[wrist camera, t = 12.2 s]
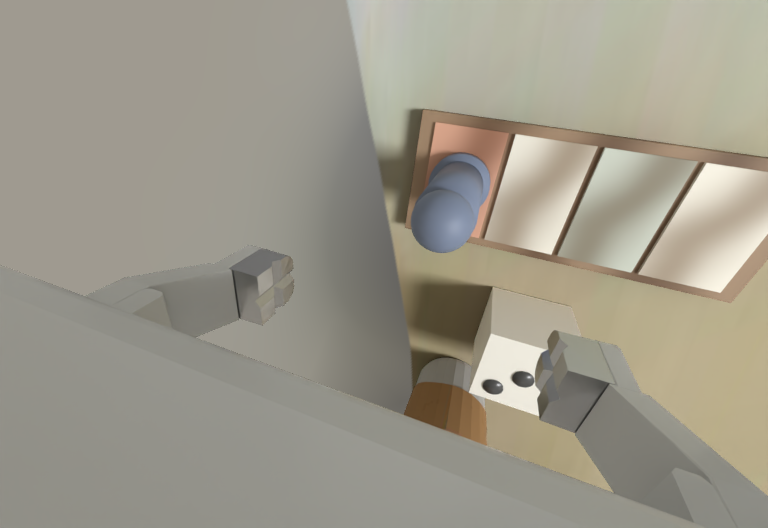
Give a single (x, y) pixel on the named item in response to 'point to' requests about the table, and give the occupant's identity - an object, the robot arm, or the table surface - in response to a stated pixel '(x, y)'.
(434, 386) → the coffee cup
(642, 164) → the board
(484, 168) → the pawn
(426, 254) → the table surface
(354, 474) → the robot arm
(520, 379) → the die
